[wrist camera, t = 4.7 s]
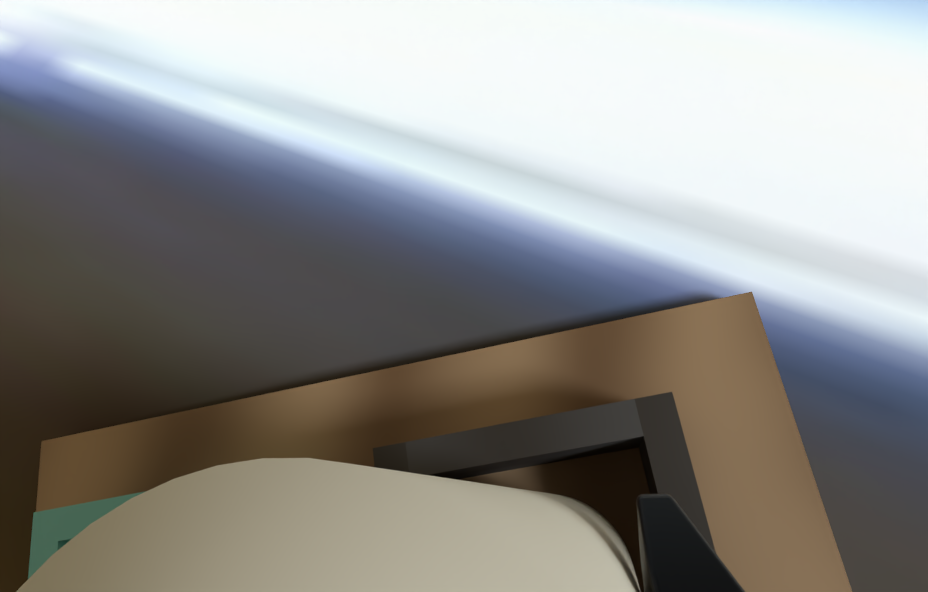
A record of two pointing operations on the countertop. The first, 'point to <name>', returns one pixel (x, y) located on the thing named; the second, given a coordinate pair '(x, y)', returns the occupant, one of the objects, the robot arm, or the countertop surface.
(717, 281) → the countertop surface
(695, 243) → the countertop surface
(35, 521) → the port
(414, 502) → the plug
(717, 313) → the panel board
